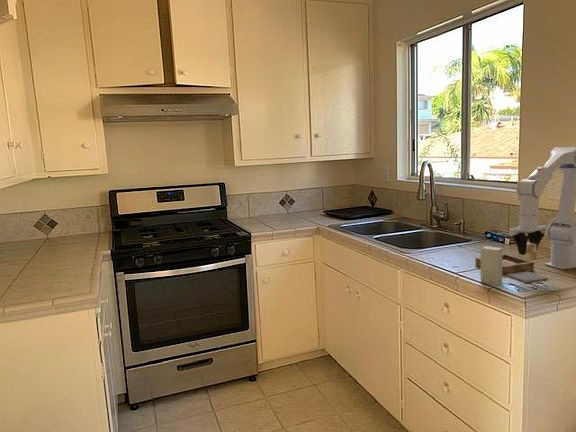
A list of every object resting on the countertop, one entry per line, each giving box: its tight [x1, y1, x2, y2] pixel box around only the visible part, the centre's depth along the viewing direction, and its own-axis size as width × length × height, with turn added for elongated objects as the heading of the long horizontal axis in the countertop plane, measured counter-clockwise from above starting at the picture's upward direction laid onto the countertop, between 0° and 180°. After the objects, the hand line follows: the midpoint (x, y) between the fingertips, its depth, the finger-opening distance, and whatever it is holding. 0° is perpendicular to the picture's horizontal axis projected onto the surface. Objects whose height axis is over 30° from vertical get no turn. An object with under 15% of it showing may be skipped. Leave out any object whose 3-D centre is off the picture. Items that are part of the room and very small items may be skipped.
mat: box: [505, 271, 548, 284], centre depth 157 cm, size 9×9×1 cm
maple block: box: [517, 241, 537, 260], centre depth 156 cm, size 4×4×5 cm
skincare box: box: [480, 245, 503, 286], centre depth 153 cm, size 6×4×12 cm
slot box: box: [474, 253, 535, 276], centre depth 170 cm, size 14×14×3 cm
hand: (527, 253), depth 156 cm, fingers closed on maple block, 4 cm apart
